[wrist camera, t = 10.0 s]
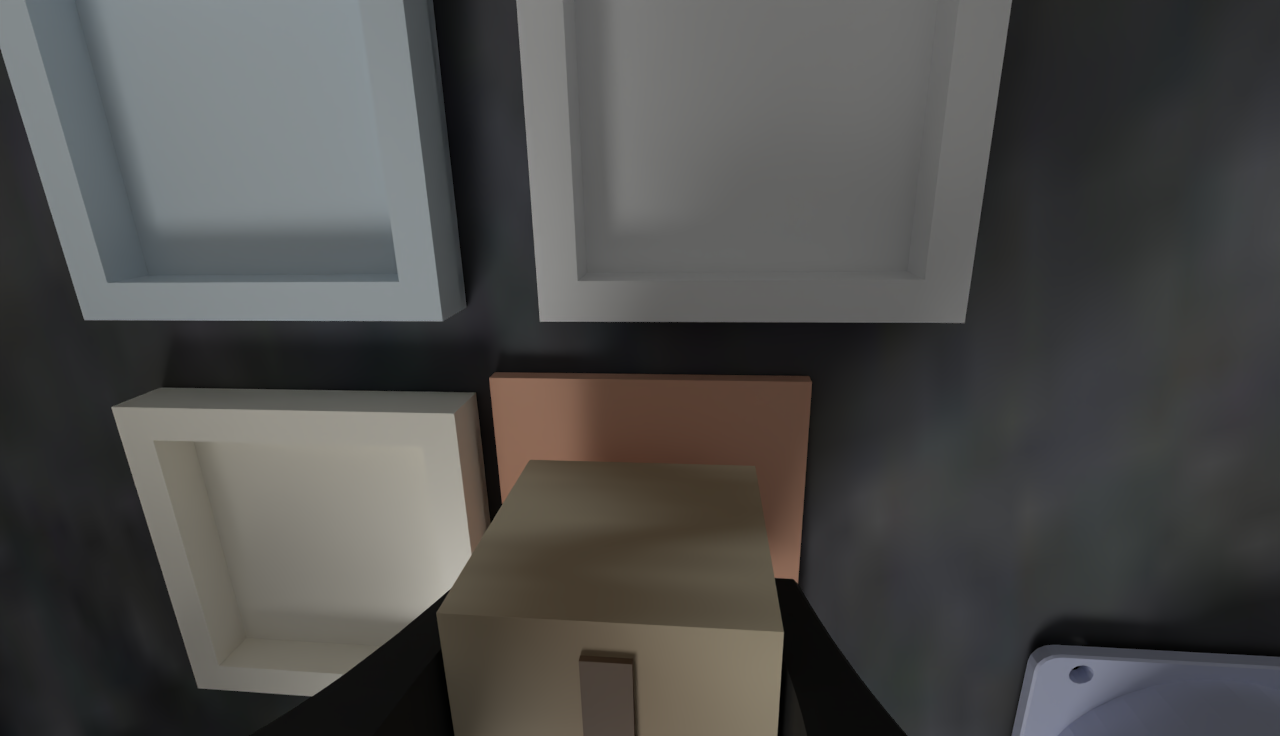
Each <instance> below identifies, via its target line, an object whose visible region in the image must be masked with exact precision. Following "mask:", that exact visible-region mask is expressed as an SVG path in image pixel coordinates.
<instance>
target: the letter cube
mask: <svg viewBox="0 0 1280 736" xmlns="http://www.w3.org/2000/svg"><path fill="white" fill-rule="evenodd" d="M436 615H437V622H438V629H439V636H440V642H441V649H442V656H443V662H444V669H445V676H446V682H447V689H448V696H449V702H450V709H451V716H452V722H453V729H454V736H777V733H778V717H779V701H780V686H781V670H782V654H783V638H784V630H783V624H782V618H781V613H780V607H779V601H778V595H777V589H776V584H775V578H774V572H773V566H772V560H771V555H770V549H769V543H768V537H767V531H766V526H765V520H764V514H763V508H762V502H761V497H760V491H759V485H758V479H757V473H756V468H755V466H742V465H706V464H669V463H632V462H596V461H559V460H529V461H528V463H527V465H526V466H525V468H524V470H523V471H522V473H521V475H520V476H519V478H518V480H517V481H516V483H515V484H514V486H513V488H512V489H511V491H510V493H509V494H508V496H507V498H506V499H505V501H504V502H503V504H502V506H501V507H500V509H499V511H498V512H497V514H496V516H495V517H494V519H493V521H492V522H491V524H490V525H489V527H488V529H487V530H486V532H485V534H484V535H483V537H482V539H481V540H480V542H479V544H478V545H477V547H476V548H475V550H474V552H473V553H472V555H471V557H470V558H469V560H468V562H467V563H466V565H465V567H464V568H463V570H462V571H461V573H460V575H459V576H458V578H457V580H456V581H455V583H454V585H453V586H452V588H451V590H450V591H449V593H448V594H447V596H446V598H445V599H444V601H443V603H442V604H441V606H440V608H439V609H438V611H437V612H436Z"/></svg>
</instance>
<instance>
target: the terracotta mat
mask: <svg viewBox="0 0 1280 736" xmlns="http://www.w3.org/2000/svg"><path fill="white" fill-rule="evenodd" d="M489 382H490V392H491V401H492V411H493V421H494V431H495V440H496V450H497V460H498V470H499V479H500V489H501V499H502V504H503V502H504V501H505V499H506V498H507V496H508V494H509V493H510V491H511V489H512V488H513V486H514V484H515V483H516V481H517V480H518V478H519V476H520V475H521V473H522V471H523V470H524V468H525V466H526V465H527V463H528V461H529V460H559V461H596V462H632V463H669V464H706V465H742V466H755V468H756V473H757V479H758V485H759V491H760V497H761V502H762V508H763V514H764V520H765V526H766V531H767V537H768V543H769V549H770V555H771V560H772V566H773V572H774V578H785V579H794V580H795V581H796V582H797V583H798V577H799V562H800V548H801V534H802V520H803V505H804V491H805V477H806V462H807V448H808V434H809V419H810V405H811V391H812V381H811V379H810V377H809V376H770V375H687V374H604V373H521V372H495V373H494V374H493V375H492V376H490V377H489Z"/></svg>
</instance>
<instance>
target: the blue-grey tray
mask: <svg viewBox="0 0 1280 736" xmlns="http://www.w3.org/2000/svg"><path fill="white" fill-rule="evenodd" d="M0 49H1V52H2V55H3V59H4V62H5V65H6V68H7V71H8V75H9V78H10V81H11V84H12V88H13V91H14V94H15V97H16V101H17V104H18V107H19V110H20V114H21V117H22V120H23V123H24V126H25V130H26V133H27V136H28V139H29V143H30V146H31V149H32V152H33V156H34V159H35V162H36V165H37V169H38V172H39V175H40V178H41V182H42V185H43V188H44V191H45V194H46V198H47V201H48V204H49V207H50V211H51V214H52V217H53V220H54V224H55V227H56V230H57V233H58V237H59V240H60V243H61V246H62V250H63V253H64V256H65V259H66V262H67V266H68V269H69V272H70V275H71V279H72V282H73V285H74V288H75V292H76V295H77V298H78V301H79V305H80V308H81V311H82V314H83V317H84V320H211V321H444V320H446V319H447V318H449V317H451V316H453V315H455V314H456V313H458V312H460V311H462V310H463V309H465V308H467V306H466V297H465V288H464V279H463V269H462V260H461V251H460V242H459V233H458V224H457V215H456V206H455V197H454V188H453V179H452V170H451V161H450V152H449V143H448V134H447V125H446V115H445V106H444V97H443V88H442V79H441V70H440V61H439V52H438V43H437V34H436V25H435V16H434V7H433V0H0Z"/></svg>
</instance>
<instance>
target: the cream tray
mask: <svg viewBox="0 0 1280 736" xmlns="http://www.w3.org/2000/svg"><path fill="white" fill-rule="evenodd" d="M111 408H112V411H113V415H114V418H115V421H116V424H117V428H118V431H119V434H120V437H121V440H122V444H123V447H124V450H125V453H126V457H127V460H128V463H129V466H130V470H131V473H132V476H133V479H134V483H135V486H136V489H137V492H138V496H139V499H140V502H141V505H142V508H143V512H144V515H145V518H146V521H147V525H148V528H149V531H150V534H151V538H152V541H153V544H154V547H155V551H156V554H157V557H158V560H159V563H160V567H161V570H162V573H163V576H164V580H165V583H166V586H167V589H168V593H169V596H170V599H171V602H172V606H173V609H174V612H175V615H176V619H177V622H178V625H179V628H180V631H181V635H182V638H183V641H184V644H185V648H186V651H187V654H188V657H189V661H190V664H191V667H192V670H193V674H194V677H195V680H196V683H197V686H198V688H201V689H215V690H229V691H243V692H257V693H271V694H285V695H299V696H314V695H315V694H317V693H318V692H320V691H321V690H323V689H324V688H325V687H327V686H328V685H330V684H331V683H333V682H334V681H336V680H337V679H338V678H340V677H341V676H343V675H344V674H345V673H347V672H348V671H349V670H351V669H352V668H353V667H355V666H356V665H357V664H358V663H360V662H361V661H362V660H364V659H365V658H366V657H368V656H369V655H370V654H372V653H373V652H374V651H375V650H377V649H378V648H379V647H381V646H382V645H383V644H385V643H386V642H387V641H389V640H390V639H391V638H392V637H394V636H395V635H396V634H398V633H399V632H400V631H401V630H402V629H404V628H405V627H406V626H407V625H408V624H410V623H411V622H412V621H413V620H414V619H416V618H417V617H418V616H419V615H420V614H422V613H423V612H424V611H425V610H426V609H428V608H429V607H430V606H431V605H432V604H434V603H435V602H436V601H437V600H438V599H439V598H441V597H442V596H443V595H444V594H445V593H446V592H447V591H449V590H450V589H451V588H452V586H453V585H454V583H455V581H456V580H457V578H458V576H459V575H460V573H461V571H462V570H463V568H464V567H465V565H466V563H467V562H468V560H469V558H470V557H471V555H472V553H473V552H474V550H475V548H476V547H477V545H478V544H479V542H480V540H481V539H482V537H483V535H484V534H485V532H486V530H487V529H488V527H489V525H490V524H491V523H490V514H489V505H488V496H487V487H486V478H485V469H484V460H483V451H482V442H481V433H480V423H479V414H478V405H477V396H476V392H416V391H352V390H288V389H224V388H158V389H155V390H153V391H150V392H148V393H145V394H143V395H140V396H138V397H135V398H133V399H130V400H128V401H125V402H122V403H120V404H117V405H115V406H112V407H111Z"/></svg>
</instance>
